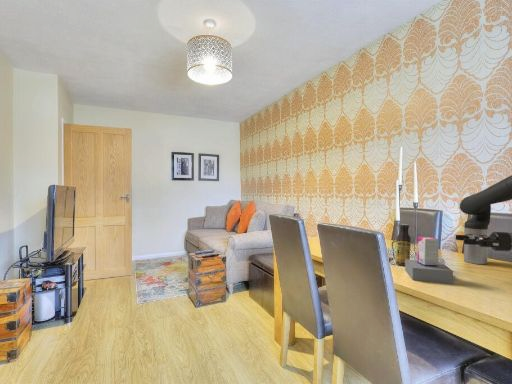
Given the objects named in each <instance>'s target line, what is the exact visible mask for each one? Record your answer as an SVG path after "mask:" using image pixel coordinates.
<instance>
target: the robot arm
mask: <svg viewBox="0 0 512 384" xmlns="http://www.w3.org/2000/svg"><path fill="white" fill-rule="evenodd" d="M508 201H512V175H510V176H507V177H506V178H503V179H502V180H500V181H498V182H496V183H494V184H492V185H490V186H489V187H486V188H484V189H483V190H482V191H479V192H477V193H474V194H471V195H469V196H466V197H464V198H463V199H462V200H461V201H460V203H459V210H460V211H461V212H462V213H463V214H466V215H470V216H471V218H469V219H468V220H467V221H465V222H464V225H463V226H464V233H463V234H455V240H456V241H463V250H464V251H463V260H464V262H466V263H469V264H475V265H488V255H489V254H488V252H489V251H488V249H489V248H491V249H492V250H493V251H495V252H509V253H510V252H511V253H512V232H508V231H507V232H506V231H504V232H503V231H493V232H491V233H490V235H489V232H488V231H489V230H488V229H489V225H490V222H491V213H492V212H491V211H492V205H494V204H499V203H503V202H508Z"/></svg>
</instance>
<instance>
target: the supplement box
mask: <svg viewBox="0 0 512 384" xmlns="http://www.w3.org/2000/svg"><path fill="white" fill-rule="evenodd" d="M439 242H440V241H439V238H435V237H432V236H417V259H416V260H417V263H419V264H421V265H423V266H438V262H439V249H440V248H439V247H440V246H439Z"/></svg>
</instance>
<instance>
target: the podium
mask: <svg viewBox="0 0 512 384" xmlns="http://www.w3.org/2000/svg"><path fill="white" fill-rule="evenodd" d="M404 270H405V272H406V273H407V274H408V276H409V277H410V279H411V280H412V281H420V282H430V283H439V284H440V283H441V284H451V285H453V284H454V270H452V269H451V268H450V267H448V266H447V265H446V264H444V263H443V262H442V261H438V266H423V265H421V264H419V263H417V259H410V260H408V259H405V266H404Z"/></svg>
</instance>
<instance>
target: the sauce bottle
mask: <svg viewBox="0 0 512 384" xmlns="http://www.w3.org/2000/svg"><path fill="white" fill-rule="evenodd" d="M409 228H410V224H408V223H407V224H406V223H399V232H398V235H397V236H396V242H395V258H394V259H395V260H394V261H395V264H396V265H398V266H403V267H405V259H408V260H411V246H412V245H411V243H412V241H411V240H412V238H411V236H410V235H409Z"/></svg>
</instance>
